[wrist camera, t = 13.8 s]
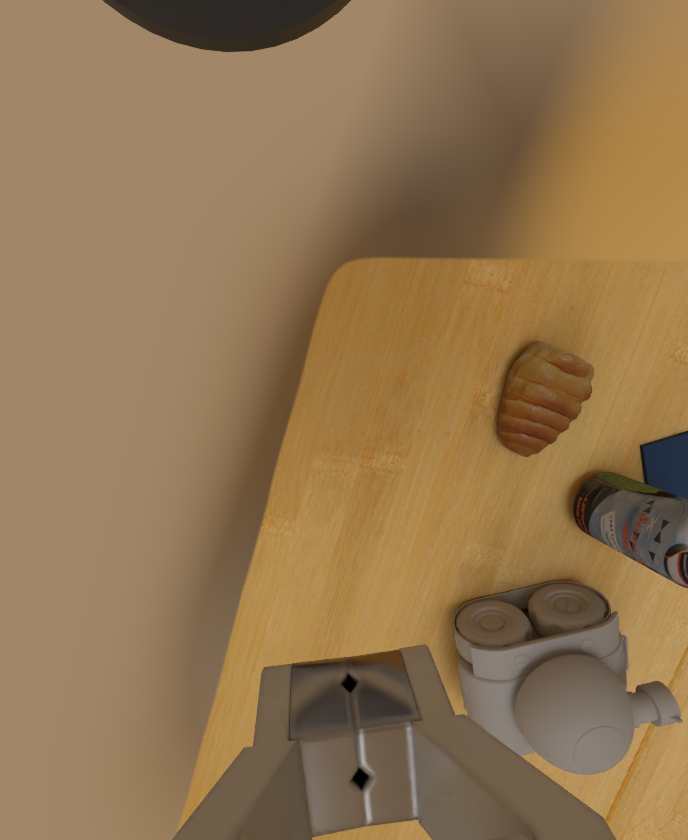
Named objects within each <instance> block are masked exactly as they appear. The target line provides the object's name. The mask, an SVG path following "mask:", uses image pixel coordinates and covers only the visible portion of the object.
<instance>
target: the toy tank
mask: <svg viewBox="0 0 688 840" xmlns="http://www.w3.org/2000/svg"><path fill="white" fill-rule="evenodd" d="M524 608H528V611H529V618H530V621H529V619H528V618H527V617H526V616H525V614H524V613H523V612H522V611H521V610H520V609H524ZM530 622H531V623H530ZM453 628H454V635H455V641H456V647H457V649H458V651H459V653H460V654H461V656H460V658H459V659H458V661H457V665H458V671H459V677H460V683H461V689H462V696H463V702H464V707H465V709H466V711H467V716H468V718H469V719H471V720H472V721H474V722H475V723H476V724H478V725H479V726H480V727H482V728H483V729H484V730H486V731H487V732H488V733H490V734H491V735H492V736H494V737H495V738H496V739H498V740H499V741H501V742H502V743H503V744H505V745H506V746H507V747H509V748H510V749H511V750H513V751H514V752H515V753H517V754H518V755H519V756H522V755H526V754H530V753H534V752H537V753H538V754H539V755H540V756H541V757H542V758H544V759H545V760H546V761H548V762H549V763H551V764H552V765H554V766H556V767H558V768H560V769H562V770H565V771H568V772H571V773H576V774H584V775H589V774H597V773H601V772H604V771H607V770H609V769H611V768H612V767H614V766H615V765H616V764H618V763H619V762H620V761H621V760H622V759H623V757H624V756H625V755H626V753H627V751H628V749H629V747H630V745H631V742H632V738H633V733H634V728H637V727H639V726H640V724H644V723H648V722H651V723H652V724H654V725H655V726H658V727H659V726H663V725H667V724H671V723H675V722H677V723H682V720H681V719H680V718H681V714H680V709H679V706H678V704H677V702H676V700H675V698H674V696H673V695H672V693H671V692H670V690H669V689H668V688H667V687H666V686H665V685H664V684H663V683H661V682H659V681H654V682H650V683H646V684H642V685H638V686H637V687H636V692H635V693H632V692H627V691H626V686H627V678H626V670H627V669H628V667H629V664H628V648H627V637H626V636H625V635H621V633H620V631H619V622H618V612H613V613H612V614H611V608H610V604H609V602H608V600H607V599H606V598H605V597H604V596H603V595H602V594H601V593H600V592H598V591H597V590H595V589H593V588H591V587H589V586H586V585H584V584H580V583H576V582H569V581H554V582H548V583H543V584H539V585H535V586H530V587H526V588H522V589H517V590H513V591H509V592H504V593H500V594H496V595H491V596H487V597H483V598H479V599H475V600H472V601H469V602H467V603H465V604H464V605H462V606H461V607H460V608H459V609H458V610H457V611H456V612H455V614H454V617H453ZM623 638H624V641H623Z"/></svg>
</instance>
